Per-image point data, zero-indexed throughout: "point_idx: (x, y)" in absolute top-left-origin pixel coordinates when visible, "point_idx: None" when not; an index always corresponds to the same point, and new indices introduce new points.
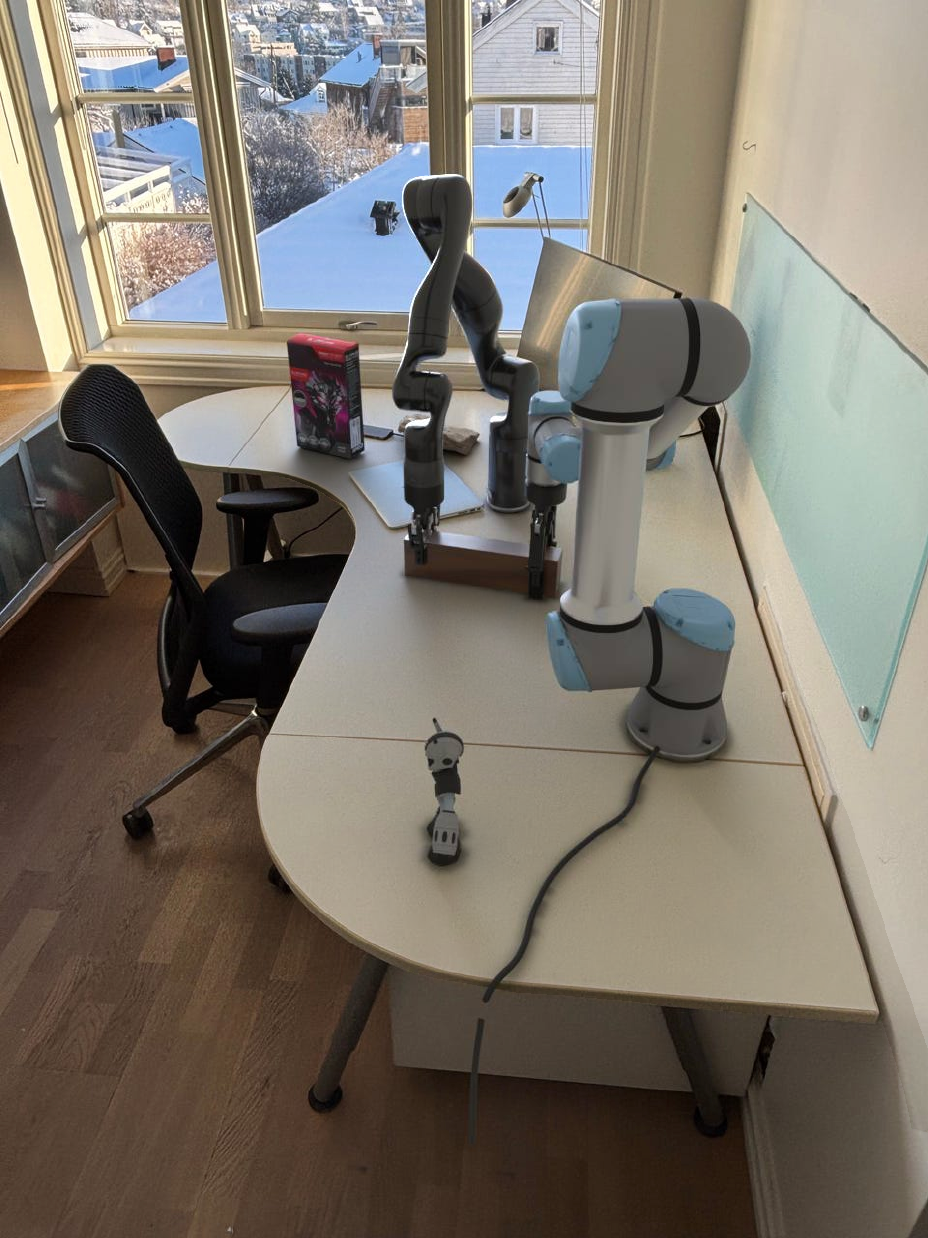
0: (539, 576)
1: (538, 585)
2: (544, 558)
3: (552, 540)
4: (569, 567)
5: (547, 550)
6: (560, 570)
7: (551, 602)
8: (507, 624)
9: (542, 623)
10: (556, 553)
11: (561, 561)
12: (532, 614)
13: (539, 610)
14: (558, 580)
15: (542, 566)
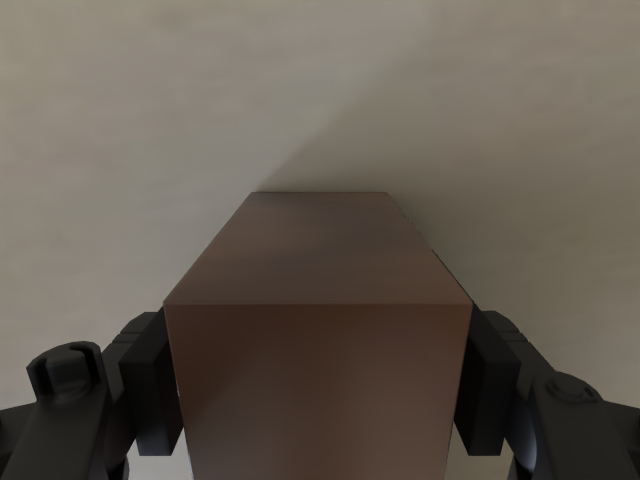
0: (534, 359)
1: (508, 319)
2: (568, 466)
3: (66, 434)
4: (56, 173)
5: (266, 428)
6: (255, 220)
7: (432, 202)
8: (635, 344)
9: (629, 208)
10: (299, 344)
11: (223, 243)
12: (551, 266)
13: (513, 243)
14: (316, 208)
15: (612, 420)
